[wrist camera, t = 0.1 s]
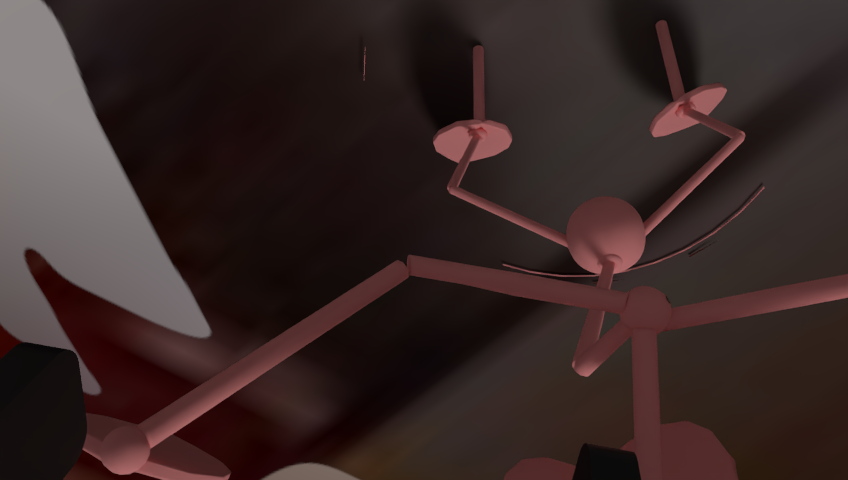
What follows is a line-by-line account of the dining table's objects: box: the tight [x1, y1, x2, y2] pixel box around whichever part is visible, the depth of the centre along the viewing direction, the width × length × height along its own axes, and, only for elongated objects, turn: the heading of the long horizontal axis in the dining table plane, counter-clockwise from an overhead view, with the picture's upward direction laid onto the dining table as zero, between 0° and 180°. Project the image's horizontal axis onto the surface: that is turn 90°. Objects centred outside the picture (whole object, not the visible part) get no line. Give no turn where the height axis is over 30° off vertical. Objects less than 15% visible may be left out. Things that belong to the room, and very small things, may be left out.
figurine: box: [83, 20, 848, 480], centre depth 24 cm, size 15×26×35 cm, turn 99°
